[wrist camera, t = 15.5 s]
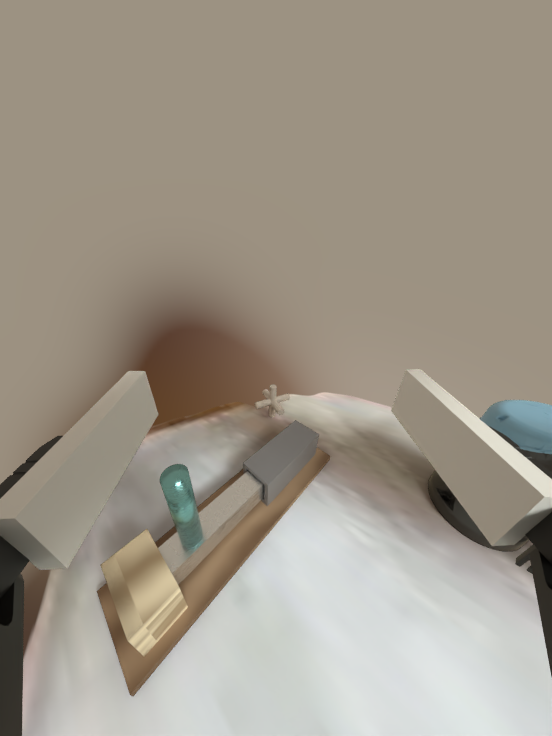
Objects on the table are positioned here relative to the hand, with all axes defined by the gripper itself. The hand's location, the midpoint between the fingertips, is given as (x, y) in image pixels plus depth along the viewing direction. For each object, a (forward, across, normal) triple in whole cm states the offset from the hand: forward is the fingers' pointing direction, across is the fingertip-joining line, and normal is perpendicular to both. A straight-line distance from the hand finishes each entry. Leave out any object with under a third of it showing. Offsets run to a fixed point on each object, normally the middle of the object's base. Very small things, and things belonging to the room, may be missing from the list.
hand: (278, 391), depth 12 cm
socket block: (+2, -16, -35) cm, 39 cm away
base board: (+14, -5, -37) cm, 40 cm away
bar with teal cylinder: (+10, -8, -34) cm, 37 cm away
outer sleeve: (+22, +3, -36) cm, 42 cm away
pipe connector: (+40, +2, -38) cm, 55 cm away
